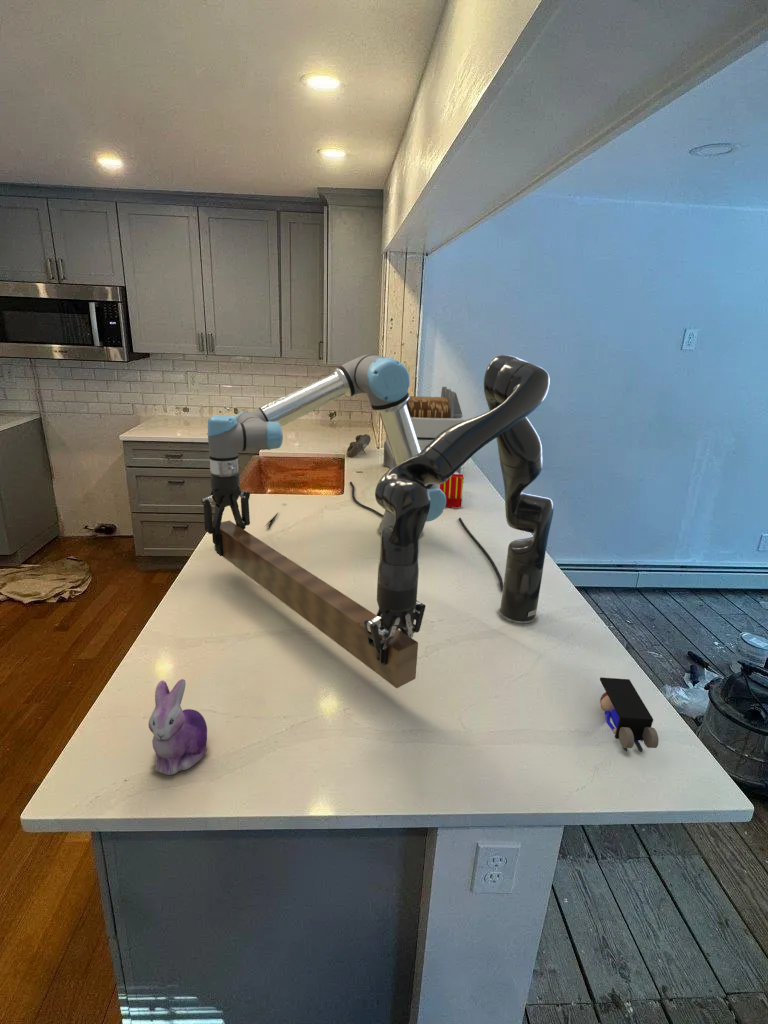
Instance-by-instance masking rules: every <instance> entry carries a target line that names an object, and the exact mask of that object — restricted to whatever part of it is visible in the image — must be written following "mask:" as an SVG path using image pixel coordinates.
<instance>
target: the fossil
mask: <svg viewBox="0 0 768 1024" xmlns="http://www.w3.org/2000/svg"><path fill="white" fill-rule="evenodd" d="M354 440H355V441H351V442H350V443H349V446H348V447H347V450H346V456H347V457H348V458H352V457H355V456H357V455H359V454H360V453H361V452H363V453H364V454H366V452H365V449H366V448H367V446H369V445H370V443H371V440H372V439H371V436H370V434H367V433H365V434H358V435H356V436H355V438H354Z"/></svg>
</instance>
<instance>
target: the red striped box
mask: <svg viewBox="0 0 768 1024" xmlns="http://www.w3.org/2000/svg"><path fill="white" fill-rule="evenodd" d="M436 485H437V488H438V489H440V490H442V492H443V493H444V494H445V496H446V506H445V508H462V502H463V501H462V500H463V490H464V474H463V473H461V474H459V473H458V472H457V471H456V472H455V473H454V474H453V475H452V476H451V477H450V478H449V479H448V480H447V481H445V482H444V483H442V484H436Z"/></svg>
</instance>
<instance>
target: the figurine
mask: <svg viewBox="0 0 768 1024" xmlns="http://www.w3.org/2000/svg"><path fill="white" fill-rule="evenodd" d="M186 683H187V682H186V680H185V679H184V678H180V679H179V680H177V682H176V683H175V684H174V686H173V687H172V689H171V690H170V689H169V685H168V684H167V682H166V681H165V680H162V679H161V680H160V681H159V682H158V683H157V684H156V688H155V691H154V704H155V706H154V708H153V710H152V712H151V715H150V717H149V720H148V729H149V730H150V732H151V733H152V734H153V737H152V740H151V741H152V748H153V750H154V752H155V755H156V763H155V770H156V771H157V772H158V773H161V774H163V775H164V774H165V775H169V776H171V775H175V774H177V773H178V772H180V771H186V770H188V769H190V768H192V767H193V766H195V765H196V764H197V763H198V762H200V760H202V759H203V758H204V757H205V755H206V752H207V741H208V725H207V722H206V719H205V718H204V716H203V714H202V713H201V712H199V711H198V710H196V709H192V708H187V709H183V708H182V705H181V704H182V700H183V697H184V694H185V690H186Z"/></svg>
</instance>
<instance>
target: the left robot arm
mask: <svg viewBox="0 0 768 1024" xmlns="http://www.w3.org/2000/svg"><path fill="white" fill-rule="evenodd" d="M410 385H411V377H410V373H409V370H408V368H406V366H405V365H404V364H403V363H402V362H401V361H399V360H397V359H395V358H393V357H390V356H381V355H377V354H373V353H369V354H368V353H367V354H364V355H361V356H358V357H356V358H354V359H352V360H350V361H347V362H346V363H344V364H343V363H342V365H339V366H337V367H335V368H334V370H333V372H332V373H330V374H328V375H326V376H324V377H321V378H320V379H318V380H315V381H313V382H311V383H309V384H307V385H305V386H302V387H301V388H298V389H296V390H294V391H292V392H289V393H288V394H286V395H284V396H281V397H278V398H277V399H275V400H273V401H270V402H268V403H267V404H265V405H262V406H260V407H258V408H255V409H253V410H251V411H248V410H247V411H242V412H239V413H238V414H237V415H236V416H234V415H229V414H216V415H212V416H210V417H208V419H207V443H208V456H209V472H210V473H211V474H210V488H211V492H210V495H209V496H207V497H202V498H201V499H200V502H201V503H202V505H203V517H204V519H203V520H204V531H205V532H207V534H209V535H212V537H211V538H212V543H213V544H214V546H215V545H216V551H215V553H216V554H217V555H219V557H223V544H222V534H221V533H220V532H219V531H220V526H221V522H222V520H223V515H224V511H225V509H226V508H227V507H229V508H230V509H231V510H230V511H231V513H232V516H233V519H234V523H235V524H236V525H237V526H239V527H240V528H242V529H244V530H245V529H246V526H250V524H251V520H250V519H251V518H250V517H251V516H250V503H249V502H250V501H249V500H250V496H251V492H249V491H247V490H245V489H243V490H241V488H240V485H241V484H240V481H241V480H240V473H239V471H240V466H239V465H240V464H239V461H240V460H239V452H246V451H266V450H267V451H271V450H276V449H279V448H281V447H282V445H283V440H284V433H283V428H282V426H285V425H287V424H289V423H291V422H293V421H295V420H297V419H299V418H302V417H303V416H305V415H308V414H309V413H312V412H314V411H316V410H318V409H320V408H322V407H325V406H326V405H328V404H331V403H332V402H335V401H336V400H339V399H341V398H343V397H346V398H352V397H353V396H355V395H358V394H366V395H367V398H368V401H369V404H370V407H371V409H372V410H373V411H374V412H376V413H378V414H379V417H380V421H381V423H382V426H383V429H384V433H385V436H386V435H387V438H388V441H389V444H390V447H391V450H392V453H393V456H394V459H395V462H396V465H399V464H401V463H402V462H404V461H406V460H407V459H409V458H411V457H413V456H415V455H417V454H419V453H420V452H421V450H420V447H419V443H418V440H417V437H416V434H415V430H414V427H413V424H412V421H411V417H410V414H409V411H408V408H407V405H406V402H407V401H408V399H409V396H410V393H409V388H410ZM349 484H350V486H351V498H352V500H353V501H354V502H355V503H356V504H357V505H358V506H360V507H362V508H364V509H366V510H369V511H371V512H373V513H374V514H376V515H378V516H379V517H381V518H382V519H381V522H379V526H378V533H379V534H380V535H381V534H382V531H383V529H384V528H385V527H386V526H388V525H391V524H395V520H396V517H395V514H393V513H391V512H389V511H387V510H385V509H384V513H383V514H382V513H381V512H379V511H378V510H375V509H374V508H372V507H369V506H367V505H364V504H362V503H361V502H359V501H358V500H357V499H356V497H355V485H354V484H353V482H352V481H350V482H349ZM425 486H426V488H427V489H428V491H429V494H430V500H431V504H430V510H429V514H428V517H427V520H426V522H425V523H429V522H433V521H435V520H436V519H438V518H439V517H440V516H441V515H442V514H443V511H444V509H445V508H446V507H445V506H446V496H445V494H444V493H443V492H442V490H440V489H438V488H437V485H436V484H427V485H425ZM239 498H240V508H239V504H238V499H239ZM213 502H214V504H215V505H214V513H213V508H212V505H213ZM240 509H241V511H240ZM422 535H423V533H422V534H421V536H422Z"/></svg>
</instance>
